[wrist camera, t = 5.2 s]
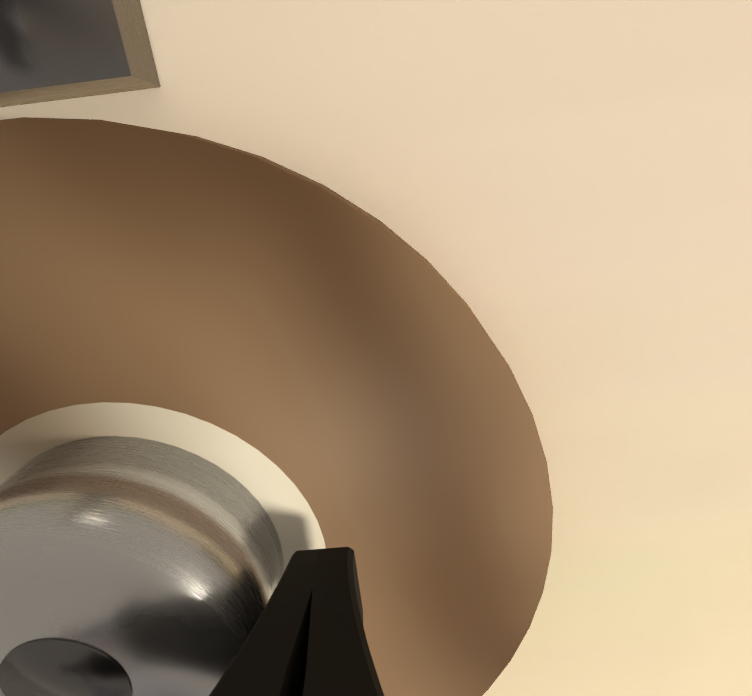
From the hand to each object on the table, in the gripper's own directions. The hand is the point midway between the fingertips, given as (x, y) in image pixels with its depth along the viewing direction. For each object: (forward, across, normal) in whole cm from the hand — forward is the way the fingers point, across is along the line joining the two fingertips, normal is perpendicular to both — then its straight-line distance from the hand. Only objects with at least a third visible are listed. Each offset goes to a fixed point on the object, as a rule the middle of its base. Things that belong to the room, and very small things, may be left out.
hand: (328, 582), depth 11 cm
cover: (+1, +5, 0) cm, 5 cm away
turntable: (+3, +5, 0) cm, 5 cm away
